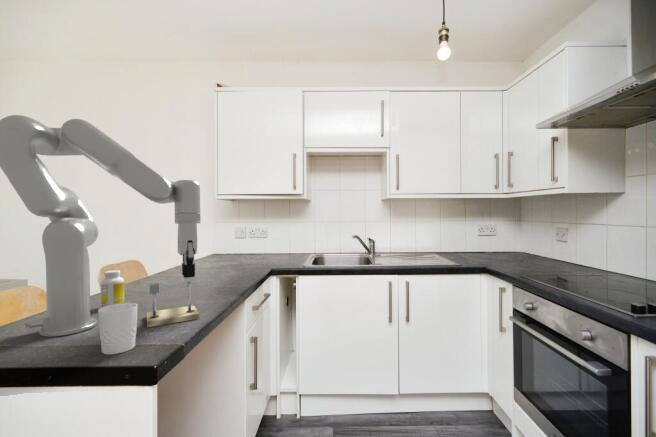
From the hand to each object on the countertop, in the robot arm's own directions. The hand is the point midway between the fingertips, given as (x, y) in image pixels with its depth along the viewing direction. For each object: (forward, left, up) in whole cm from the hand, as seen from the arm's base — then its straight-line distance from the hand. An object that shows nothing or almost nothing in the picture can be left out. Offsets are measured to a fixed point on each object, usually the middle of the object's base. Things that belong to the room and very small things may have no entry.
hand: (188, 275), depth 100 cm
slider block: (0, 0, -11) cm, 11 cm away
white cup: (-18, -19, -13) cm, 29 cm away
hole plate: (-5, 0, -13) cm, 14 cm away
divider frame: (-4, -1, -11) cm, 12 cm away
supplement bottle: (-22, +24, -13) cm, 35 cm away
